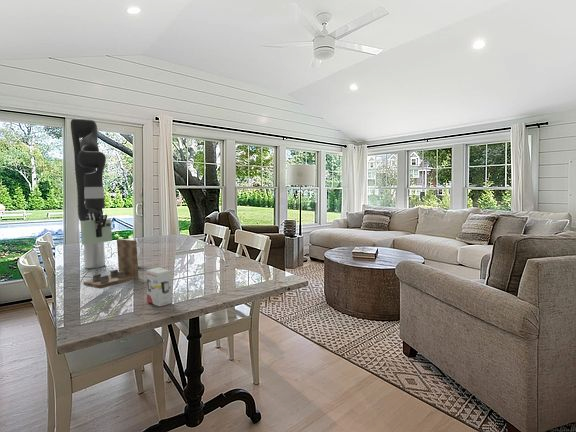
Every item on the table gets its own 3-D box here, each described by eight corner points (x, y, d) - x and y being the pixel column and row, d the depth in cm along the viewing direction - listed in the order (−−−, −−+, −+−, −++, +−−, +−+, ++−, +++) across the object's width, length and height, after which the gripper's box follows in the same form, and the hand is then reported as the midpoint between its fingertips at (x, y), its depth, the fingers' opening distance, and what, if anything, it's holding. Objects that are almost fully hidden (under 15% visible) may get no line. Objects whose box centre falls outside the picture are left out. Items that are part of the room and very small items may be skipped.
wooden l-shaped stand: (83, 284, 146) (80, 244, 144) (122, 274, 162) (119, 238, 160) (100, 288, 140) (97, 246, 138) (138, 277, 156) (136, 240, 154)
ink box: (146, 302, 122) (144, 269, 121) (159, 298, 126) (158, 267, 125) (159, 307, 116) (157, 273, 115) (172, 303, 120) (171, 270, 119)
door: (81, 244, 145) (80, 221, 144) (109, 240, 155) (107, 218, 154) (86, 245, 143) (84, 221, 142) (113, 241, 153) (112, 219, 153)
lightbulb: (135, 267, 175) (134, 246, 174) (125, 267, 176) (123, 246, 175) (143, 264, 181) (142, 244, 180) (132, 264, 182) (131, 244, 181)
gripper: (112, 197, 148) (114, 236, 149) (94, 197, 155) (96, 235, 156) (95, 197, 141) (97, 238, 142) (76, 198, 148) (79, 237, 150)
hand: (97, 236), depth 149 cm, fingers closed on door, 2 cm apart
